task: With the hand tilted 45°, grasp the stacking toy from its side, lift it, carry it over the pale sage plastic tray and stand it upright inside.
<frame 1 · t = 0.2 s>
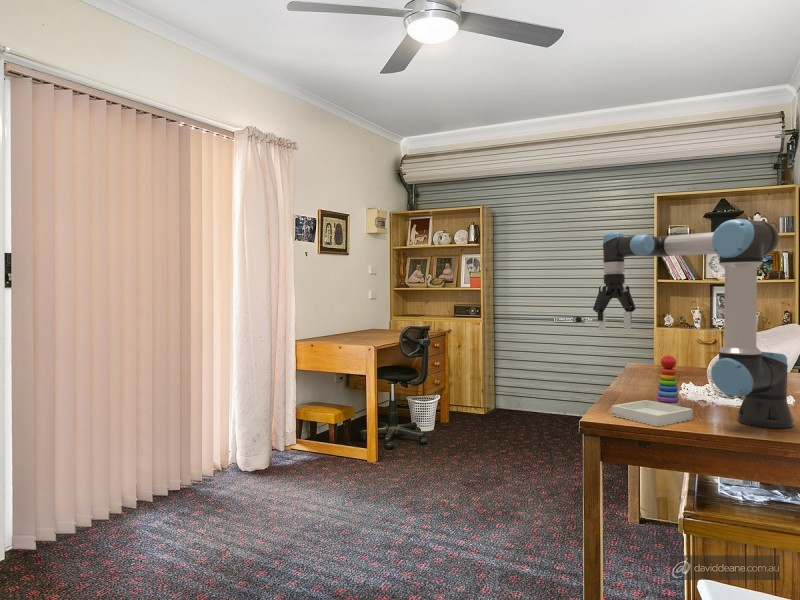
hand: (615, 329, 223), 28 cm above the table, tool pointing down, fingers open, 13 cm apart
stacking toy: (667, 407, 214), on the table
tray: (651, 417, 197), on the table
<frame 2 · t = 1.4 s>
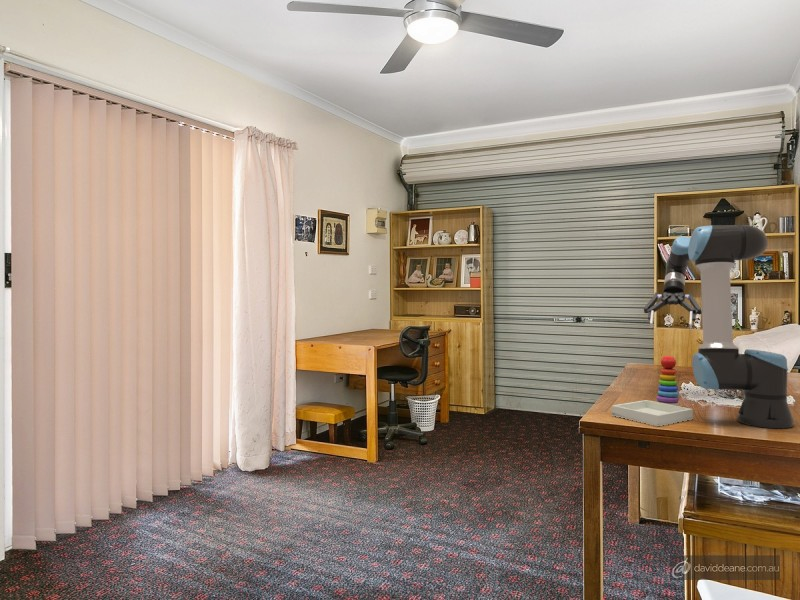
hand: (670, 326, 222), 29 cm above the table, tool tilted 45°, fingers open, 13 cm apart
nothing on the table moved.
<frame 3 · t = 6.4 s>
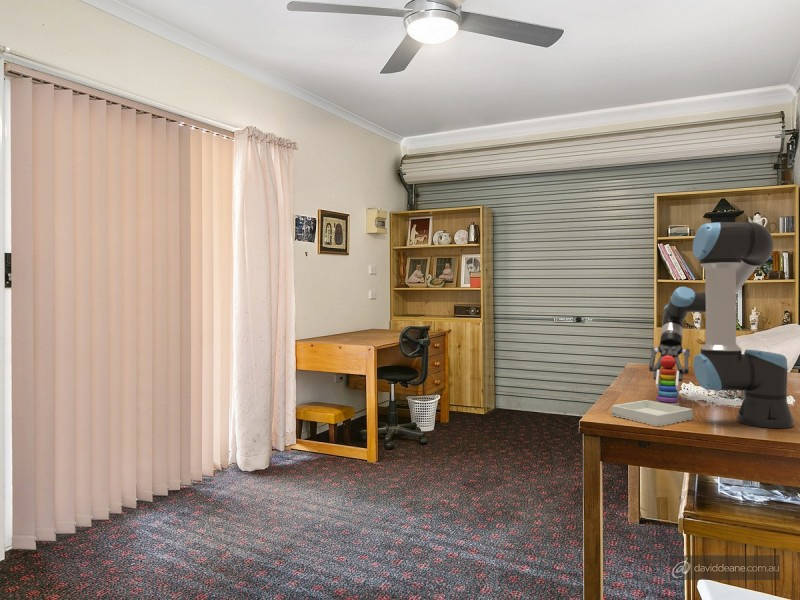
hand: (666, 386, 210), 8 cm above the table, tool tilted 45°, fingers closed on stacking toy, 6 cm apart
stacking toy: (667, 407, 214), on the table, touching gripper
everything else where it was.
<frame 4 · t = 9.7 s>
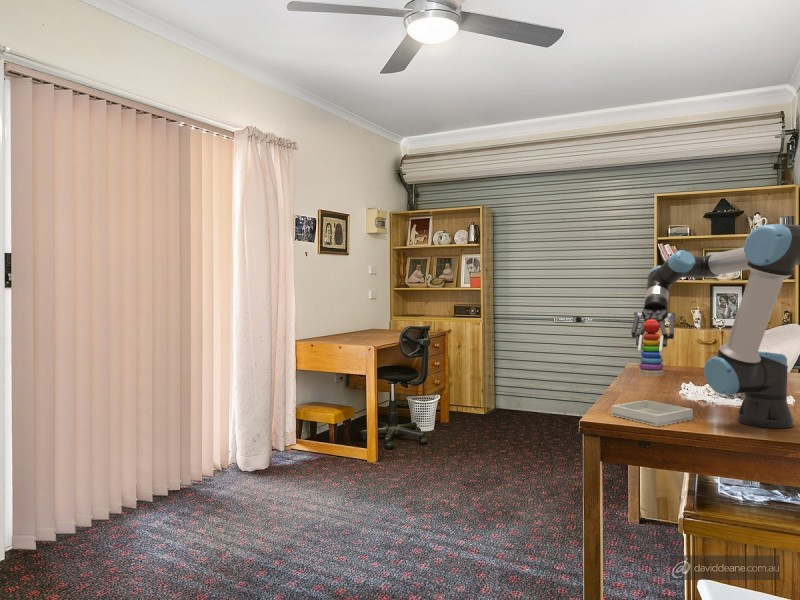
hand: (650, 352, 194), 22 cm above the table, tool tilted 45°, fingers closed on stacking toy, 6 cm apart
stacking toy: (651, 375, 197), point 14 cm above the table, touching gripper
everything else where it was.
when the fingers open (10 cm above the table, at t = 13.0 s): stacking toy drops 1 cm, resting on tray.
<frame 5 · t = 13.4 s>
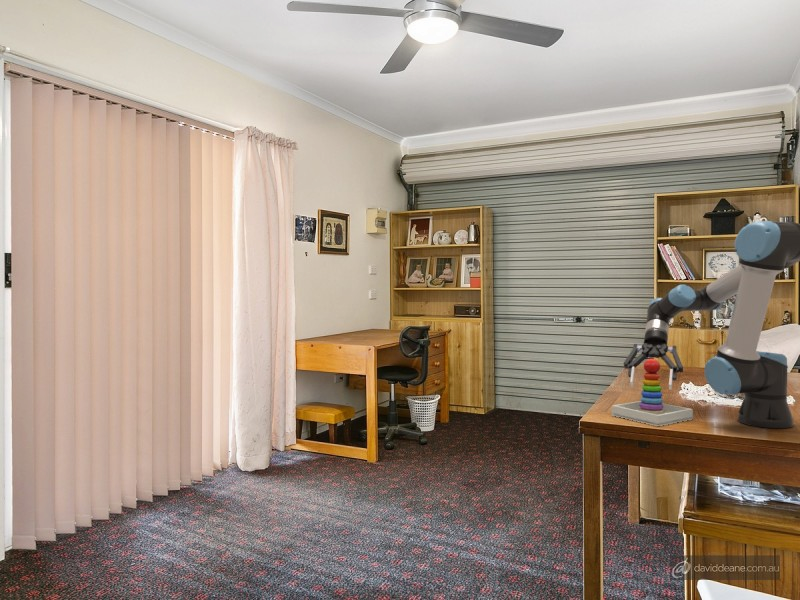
hand: (650, 385, 194), 11 cm above the table, tool tilted 45°, fingers open, 11 cm apart
stacking toy: (651, 415, 197), point 1 cm above the table, touching tray
everything else where it was.
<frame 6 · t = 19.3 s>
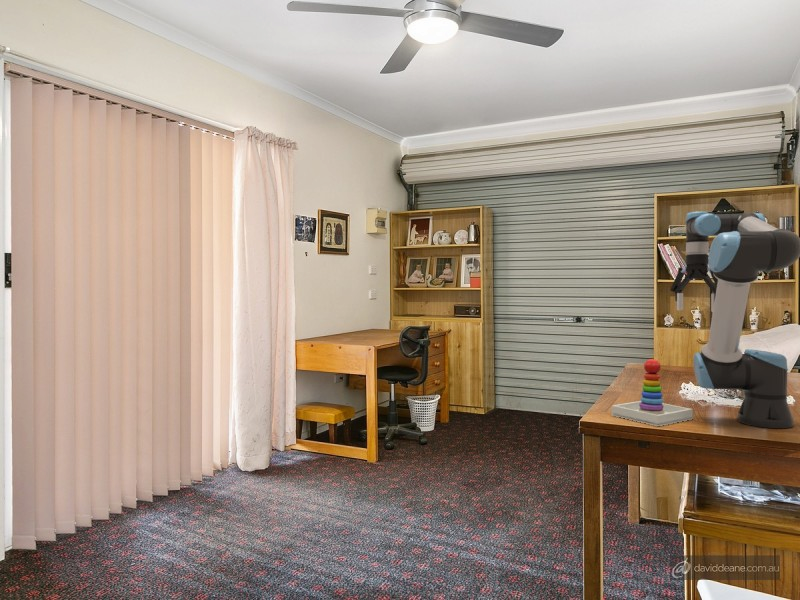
hand: (696, 310, 218), 35 cm above the table, tool pointing down, fingers open, 13 cm apart
nothing on the table moved.
at the end: stacking toy inside the target area on the tray (0.1 cm from its centre), point 0.8 cm above the tray's base; stacking toy tilted 0°; the gripper is holding nothing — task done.
